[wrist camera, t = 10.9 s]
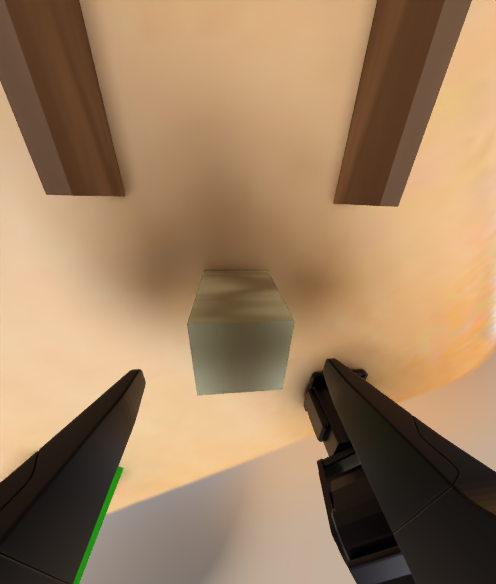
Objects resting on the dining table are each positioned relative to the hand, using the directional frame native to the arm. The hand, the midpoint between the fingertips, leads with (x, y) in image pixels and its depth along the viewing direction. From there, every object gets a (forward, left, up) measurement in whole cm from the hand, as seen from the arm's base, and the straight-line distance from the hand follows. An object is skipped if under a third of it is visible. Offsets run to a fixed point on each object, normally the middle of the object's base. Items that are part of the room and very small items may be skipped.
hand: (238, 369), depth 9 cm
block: (0, 0, -8) cm, 8 cm away
